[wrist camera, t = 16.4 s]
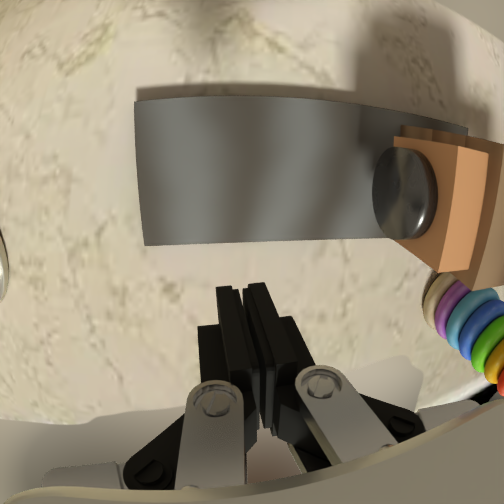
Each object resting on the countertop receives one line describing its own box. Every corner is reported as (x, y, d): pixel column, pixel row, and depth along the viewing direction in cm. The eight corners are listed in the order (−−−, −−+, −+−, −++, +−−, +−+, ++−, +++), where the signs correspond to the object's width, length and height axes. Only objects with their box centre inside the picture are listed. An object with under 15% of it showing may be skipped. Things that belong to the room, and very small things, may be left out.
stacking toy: (440, 254, 26) (577, 379, 9) (482, 265, 27) (595, 365, 11) (408, 322, 29) (507, 460, 12) (453, 324, 30) (543, 433, 14)
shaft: (367, 221, 19) (410, 255, 14) (376, 141, 17) (426, 154, 12) (505, 223, 21) (544, 246, 16) (515, 168, 19) (558, 185, 14)
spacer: (384, 233, 19) (437, 272, 14) (394, 136, 17) (458, 146, 11) (413, 232, 19) (468, 269, 14) (424, 141, 17) (488, 153, 12)
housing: (147, 240, 22) (104, 338, 12) (137, 102, 18) (63, 92, 8) (445, 232, 25) (528, 291, 15) (460, 126, 21) (560, 151, 11)
